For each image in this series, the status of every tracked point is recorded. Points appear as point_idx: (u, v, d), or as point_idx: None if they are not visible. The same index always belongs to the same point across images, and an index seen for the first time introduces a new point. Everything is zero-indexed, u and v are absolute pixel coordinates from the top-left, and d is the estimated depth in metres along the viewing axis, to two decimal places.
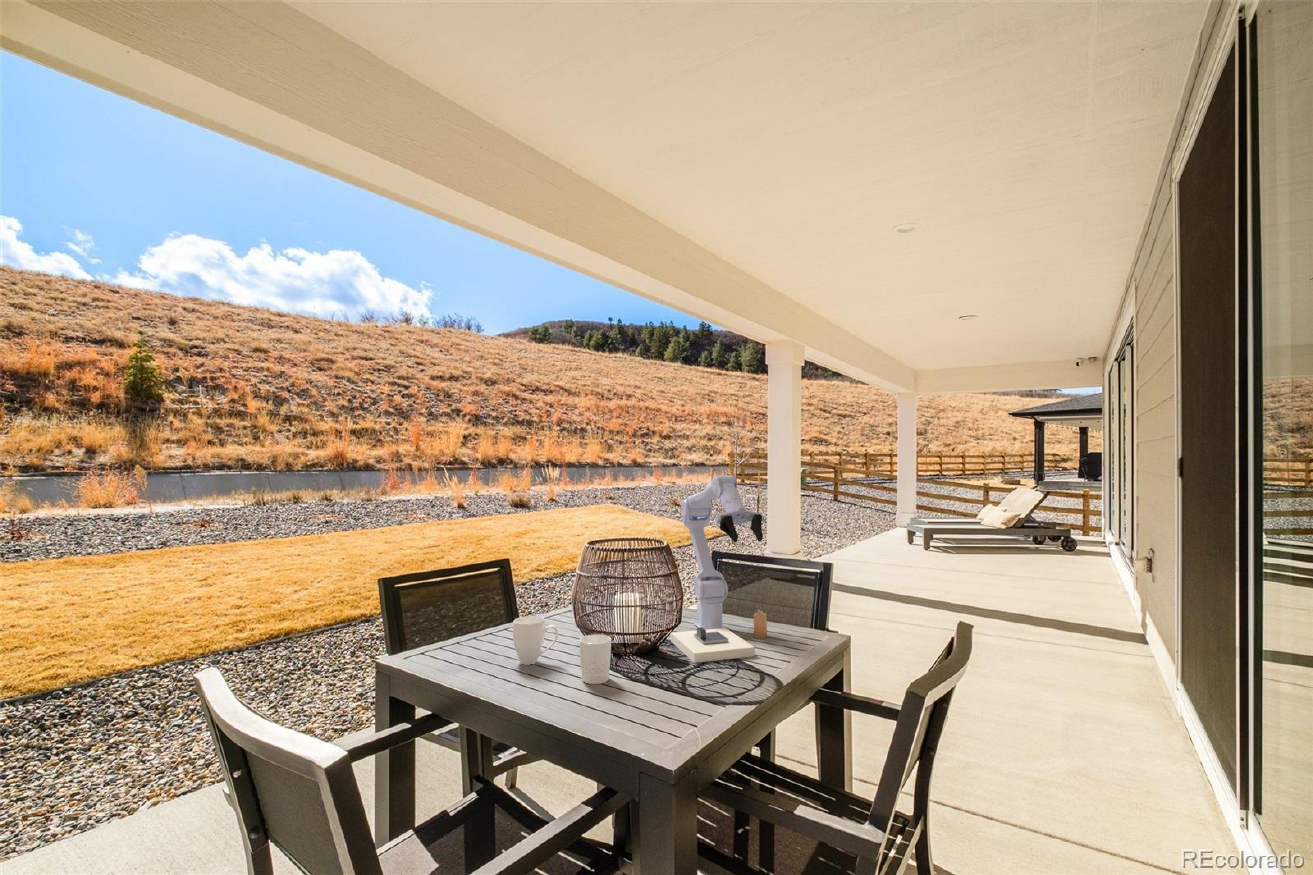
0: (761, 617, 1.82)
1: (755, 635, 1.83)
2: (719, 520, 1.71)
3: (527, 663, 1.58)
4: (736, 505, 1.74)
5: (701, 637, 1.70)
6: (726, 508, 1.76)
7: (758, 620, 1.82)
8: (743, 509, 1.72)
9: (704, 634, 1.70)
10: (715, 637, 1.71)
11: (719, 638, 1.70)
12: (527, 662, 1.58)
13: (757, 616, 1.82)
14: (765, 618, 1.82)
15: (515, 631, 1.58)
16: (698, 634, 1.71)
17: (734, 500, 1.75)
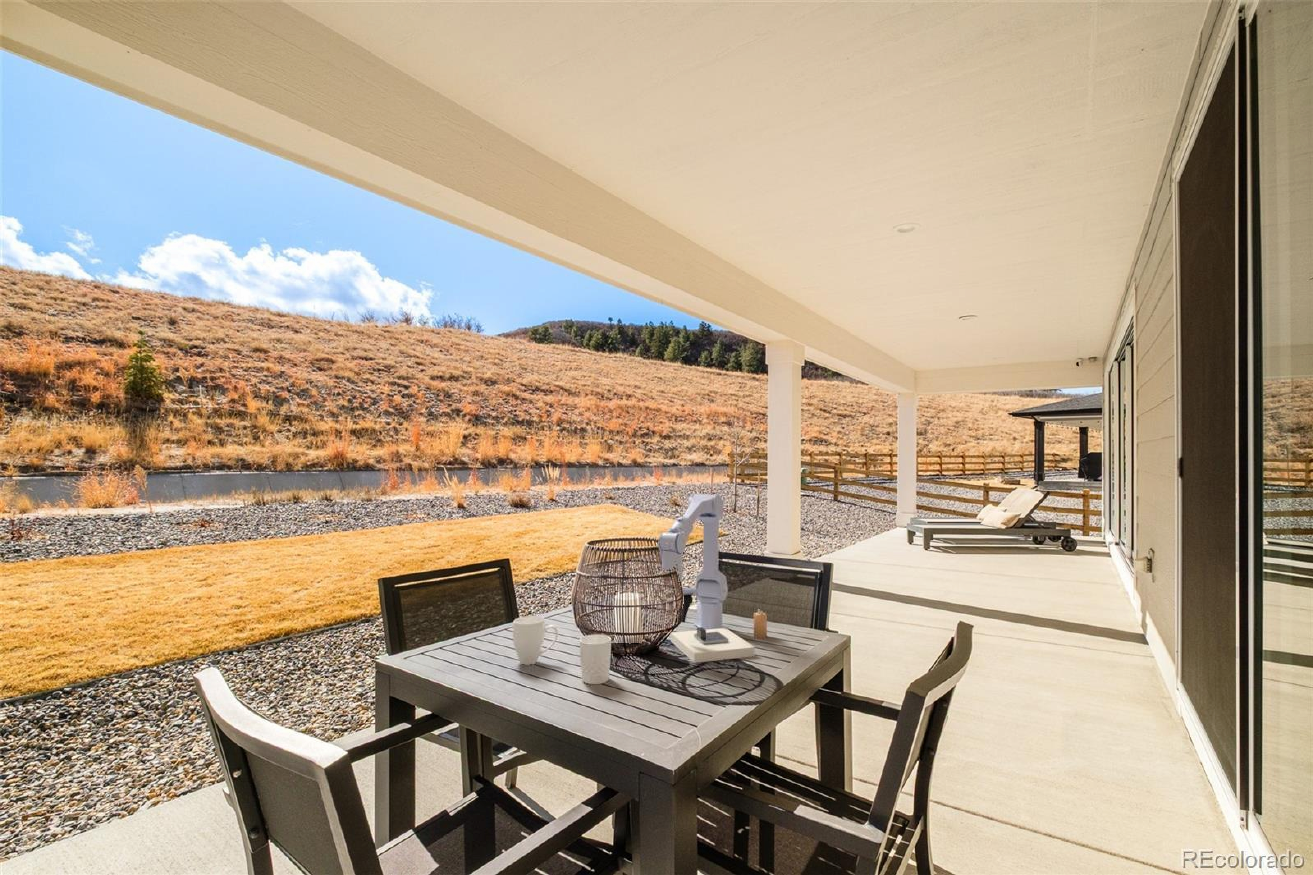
0: (761, 617, 1.82)
1: (755, 635, 1.83)
2: None
3: (527, 663, 1.58)
4: None
5: (701, 637, 1.70)
6: None
7: (758, 620, 1.82)
8: None
9: (704, 634, 1.70)
10: (715, 637, 1.71)
11: (719, 638, 1.70)
12: (527, 662, 1.58)
13: (757, 616, 1.82)
14: (765, 618, 1.82)
15: (515, 631, 1.58)
16: (698, 634, 1.71)
17: None
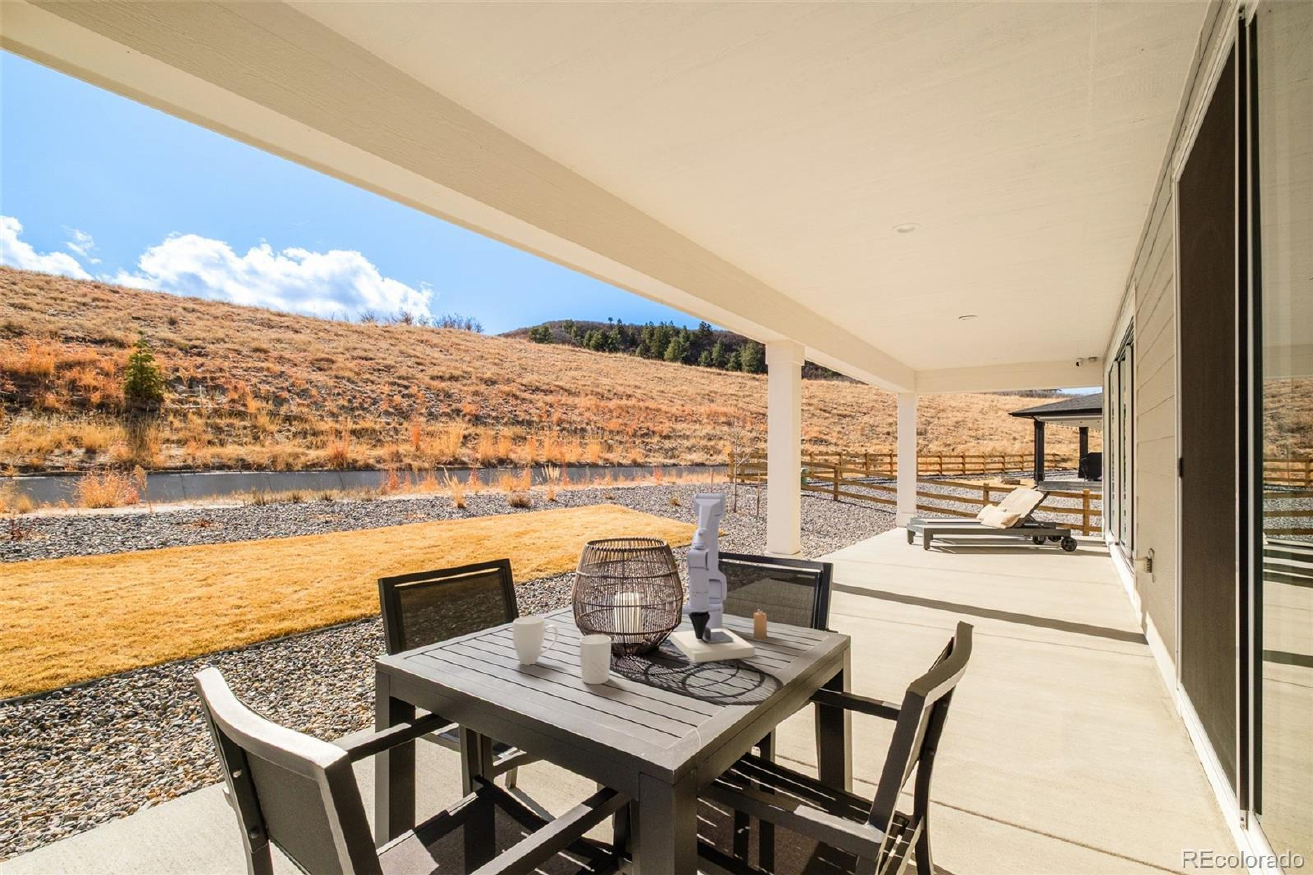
0: (761, 617, 1.82)
1: (755, 635, 1.83)
2: None
3: (527, 663, 1.58)
4: (699, 603, 1.69)
5: (706, 637, 1.70)
6: (690, 597, 1.71)
7: (758, 620, 1.82)
8: None
9: (709, 634, 1.71)
10: (720, 637, 1.72)
11: (724, 638, 1.71)
12: (527, 662, 1.58)
13: (757, 616, 1.82)
14: (765, 618, 1.82)
15: (515, 631, 1.58)
16: (703, 634, 1.72)
17: (700, 595, 1.69)
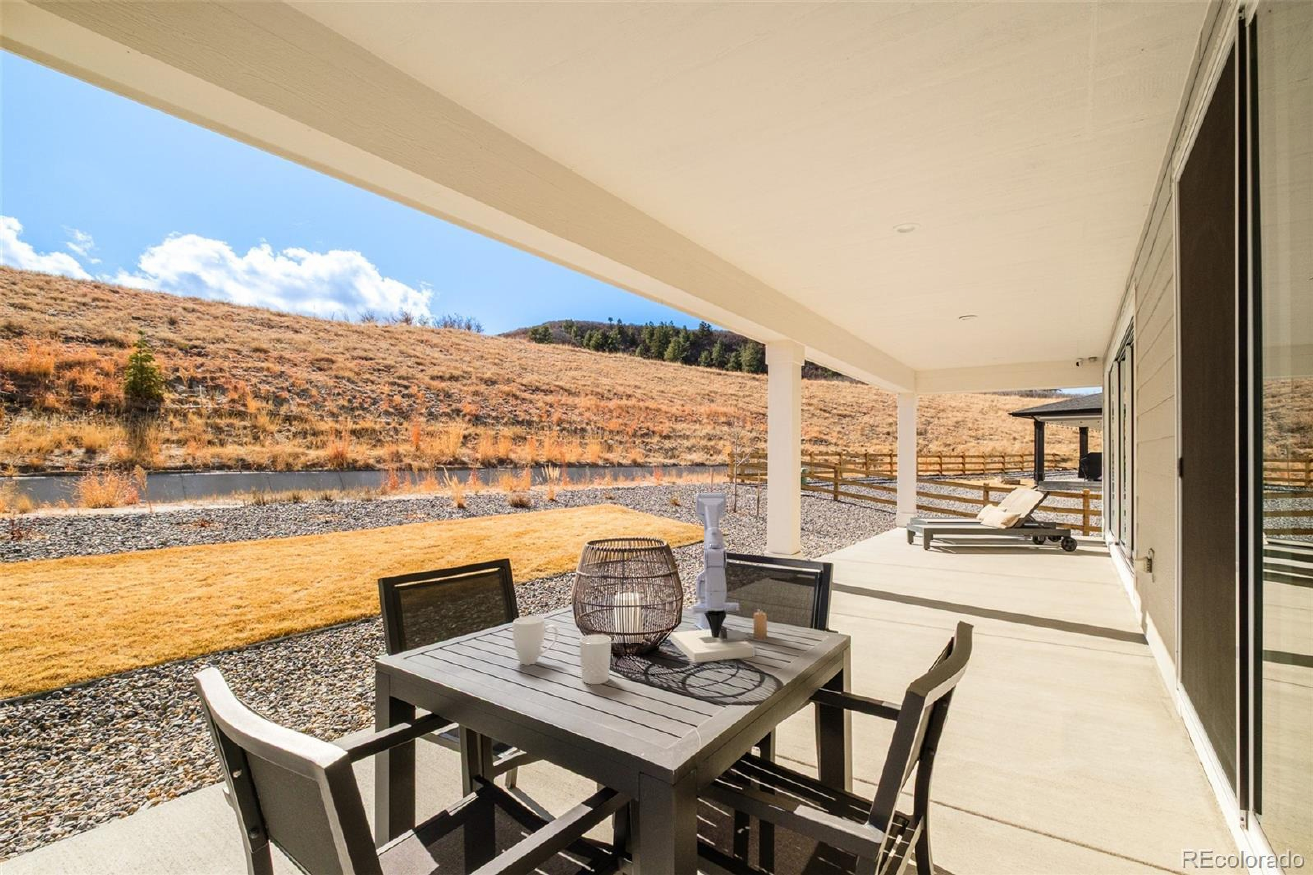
0: (761, 617, 1.82)
1: (755, 635, 1.83)
2: None
3: (527, 663, 1.58)
4: (716, 601, 1.70)
5: (722, 635, 1.72)
6: (706, 595, 1.72)
7: (758, 620, 1.82)
8: None
9: (725, 632, 1.72)
10: (736, 635, 1.73)
11: (740, 636, 1.72)
12: (527, 662, 1.58)
13: (757, 616, 1.82)
14: (765, 618, 1.82)
15: (515, 631, 1.58)
16: None
17: (716, 594, 1.70)
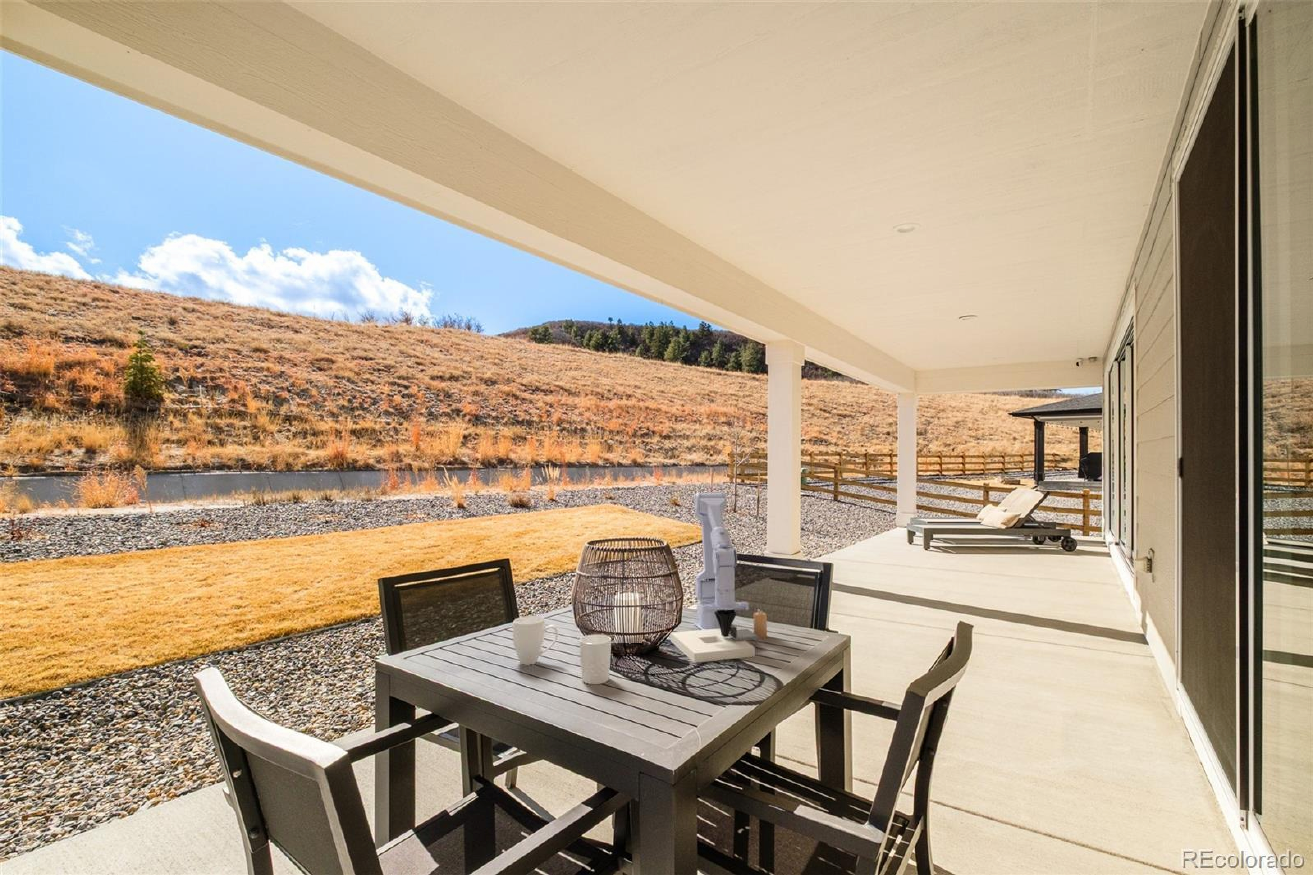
0: (761, 617, 1.82)
1: None
2: None
3: (527, 663, 1.58)
4: (725, 601, 1.71)
5: (732, 634, 1.73)
6: (716, 595, 1.73)
7: (758, 620, 1.82)
8: None
9: (735, 631, 1.73)
10: (745, 634, 1.74)
11: (749, 635, 1.73)
12: (527, 662, 1.58)
13: (757, 616, 1.82)
14: (765, 618, 1.82)
15: (515, 631, 1.58)
16: (729, 631, 1.74)
17: (726, 593, 1.71)
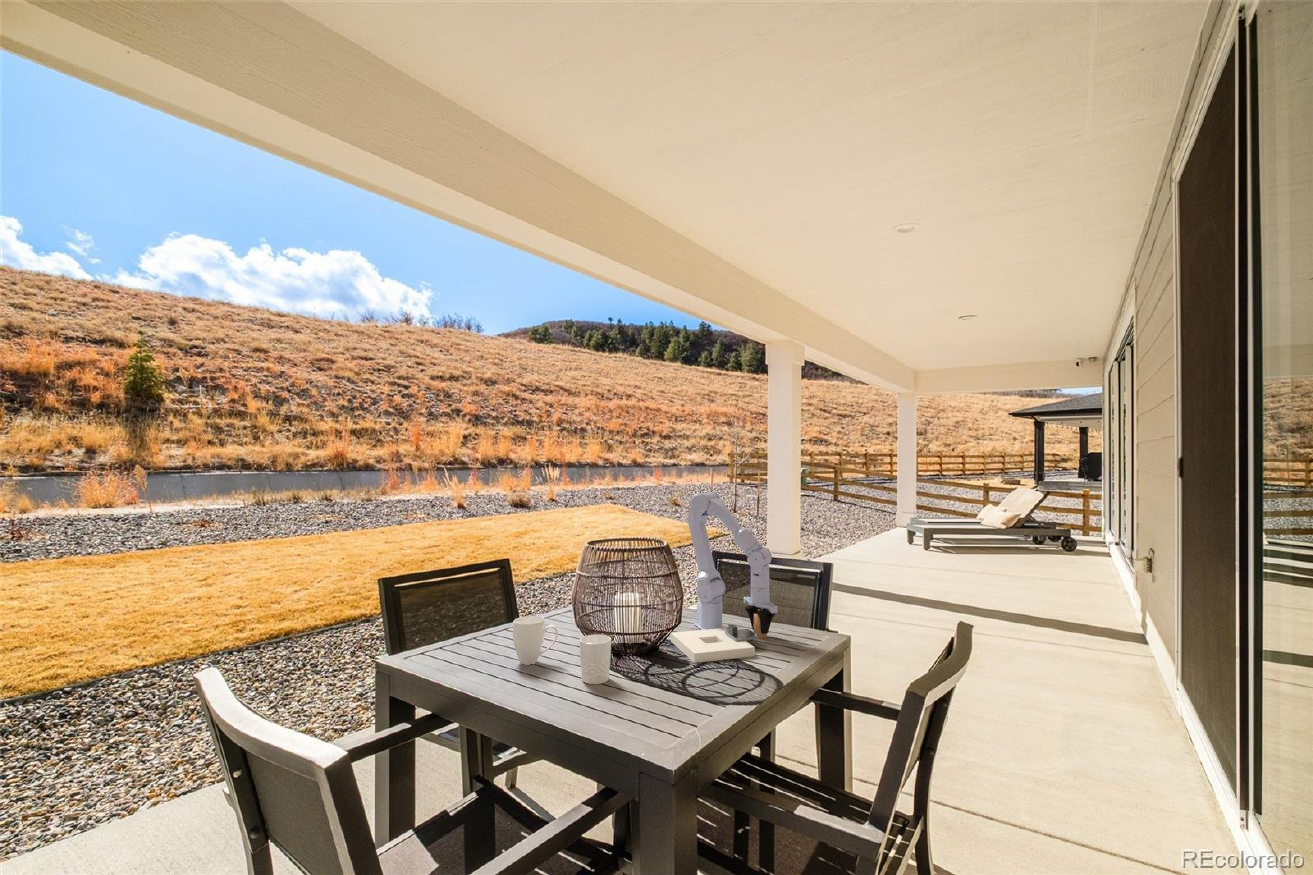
0: None
1: None
2: None
3: (527, 663, 1.58)
4: (751, 596, 1.84)
5: (733, 634, 1.73)
6: None
7: (758, 620, 1.82)
8: None
9: (736, 631, 1.73)
10: (746, 634, 1.74)
11: (750, 635, 1.73)
12: (527, 662, 1.58)
13: (757, 616, 1.82)
14: None
15: (515, 631, 1.58)
16: (729, 631, 1.74)
17: (751, 590, 1.83)
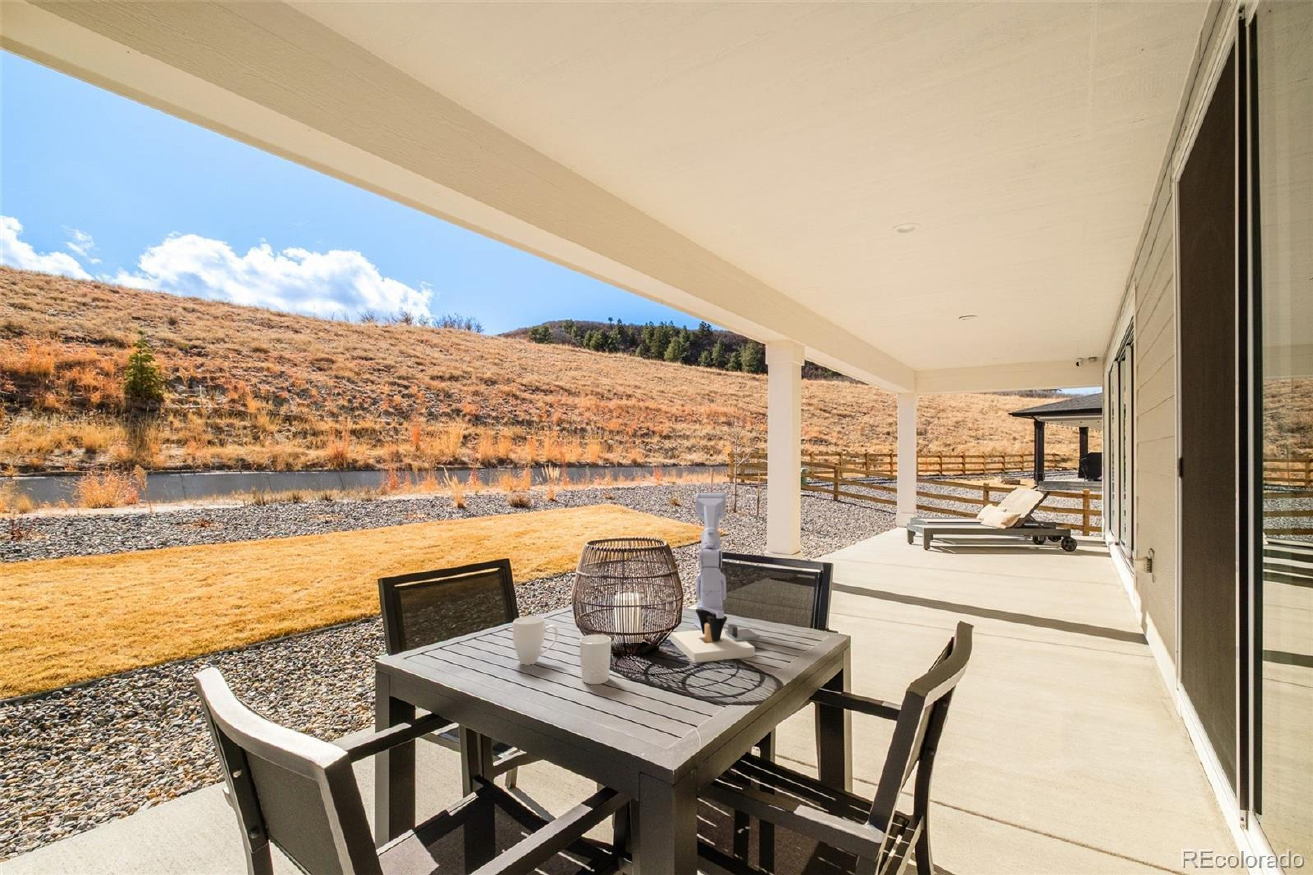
0: None
1: None
2: None
3: (527, 663, 1.58)
4: (701, 599, 1.73)
5: (733, 634, 1.73)
6: None
7: (708, 630, 1.71)
8: None
9: (736, 631, 1.73)
10: (746, 634, 1.74)
11: (750, 635, 1.73)
12: (527, 662, 1.58)
13: (707, 626, 1.71)
14: None
15: (515, 631, 1.58)
16: (729, 631, 1.74)
17: (701, 592, 1.73)
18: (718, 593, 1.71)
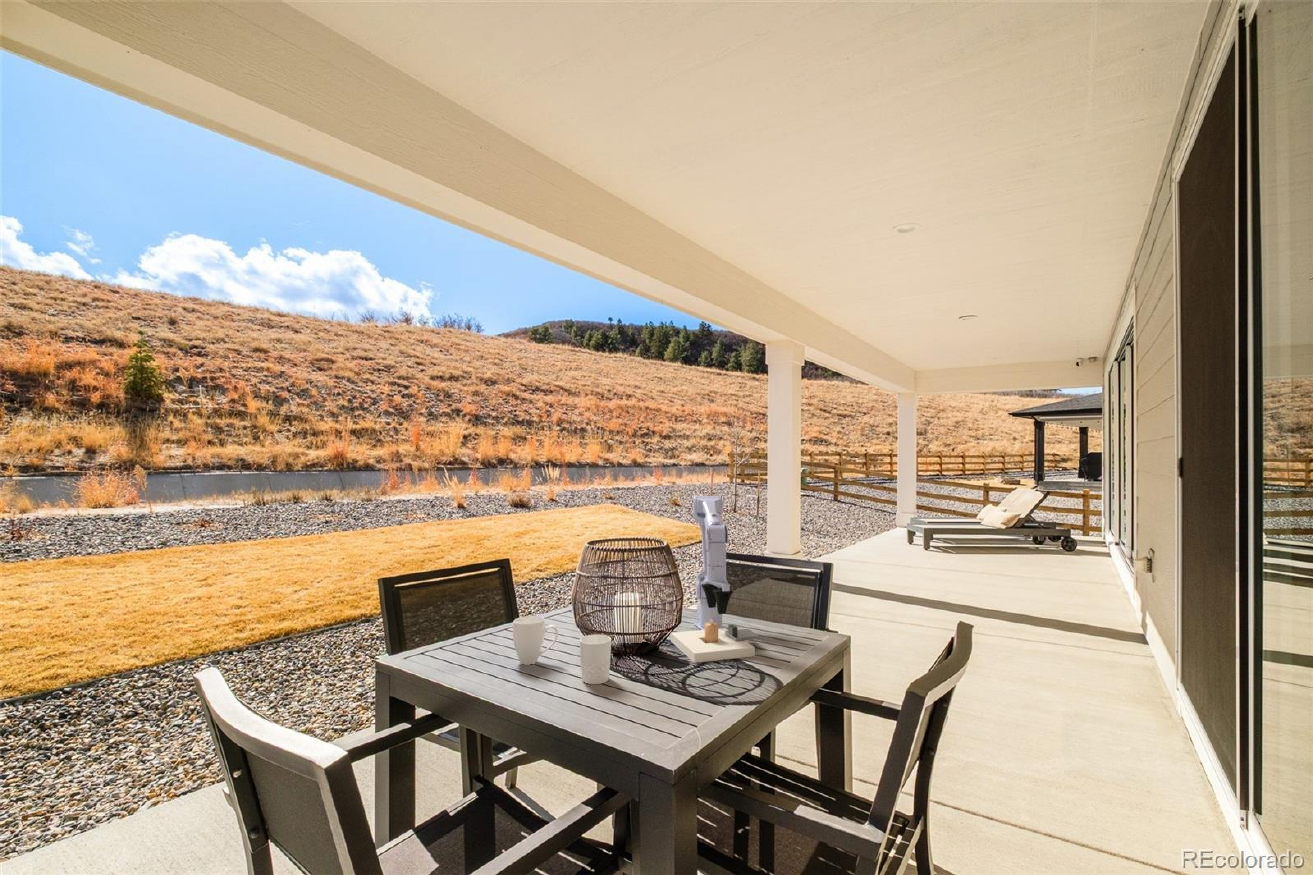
0: (711, 627, 1.70)
1: None
2: None
3: (527, 663, 1.58)
4: (707, 574, 1.79)
5: (733, 634, 1.73)
6: None
7: (708, 630, 1.71)
8: (706, 583, 1.77)
9: (736, 631, 1.73)
10: (746, 634, 1.74)
11: (750, 635, 1.73)
12: (527, 662, 1.58)
13: (707, 626, 1.71)
14: (715, 629, 1.71)
15: (515, 631, 1.58)
16: (729, 631, 1.74)
17: (707, 567, 1.79)
18: (724, 568, 1.77)
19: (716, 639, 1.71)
